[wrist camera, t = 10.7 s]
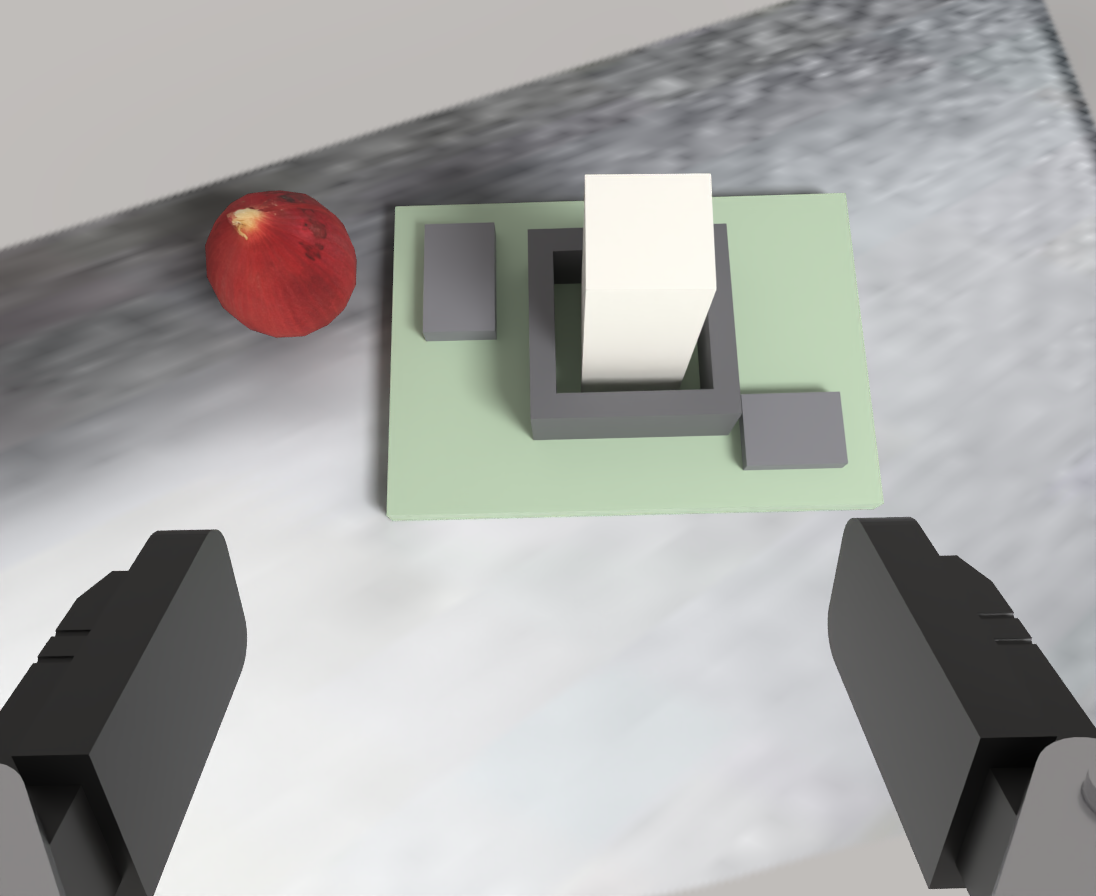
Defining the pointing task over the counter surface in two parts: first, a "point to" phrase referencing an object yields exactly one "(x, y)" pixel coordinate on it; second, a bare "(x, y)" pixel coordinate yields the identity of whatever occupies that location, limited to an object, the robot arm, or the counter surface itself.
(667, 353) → the plug
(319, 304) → the onion
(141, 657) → the robot arm
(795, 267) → the board
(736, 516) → the counter surface
